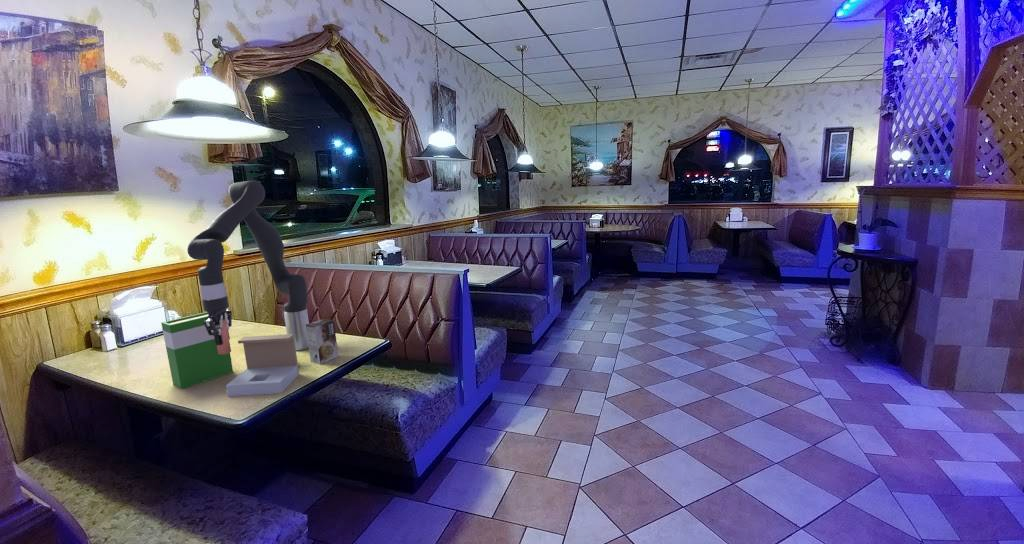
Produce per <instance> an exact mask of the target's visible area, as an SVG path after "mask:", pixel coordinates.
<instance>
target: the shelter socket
mask: <svg viewBox="0 0 1024 544" xmlns="http://www.w3.org/2000/svg"><path fill="white" fill-rule="evenodd" d="M237 344H239V345H240V344H243V351H244V356H245V364H246V369H244V371H242V372H241V373H240V374H239V375H237V376H235V378H233V379H232V380H231V381H230V382H228V383H227V384H226V385H225V389H226V395H227V397H238V396H255V395H270V394H271V395H272V394H282V393H283V392H284V391H285V390H286V388H288V387H289V386H290V385H291V383H292V382H294V380H295V379H296V378H297V377H298V376H299V375H300V372H299V365H298V364H299V363H298V356H297V351H296V348H295V340H294V334H287V333H286V334H272V335H271V334H270V335H268V334H267V335H256V336H255V335H251V336H243V337H242V338H240V339H238V340H237Z"/></svg>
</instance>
